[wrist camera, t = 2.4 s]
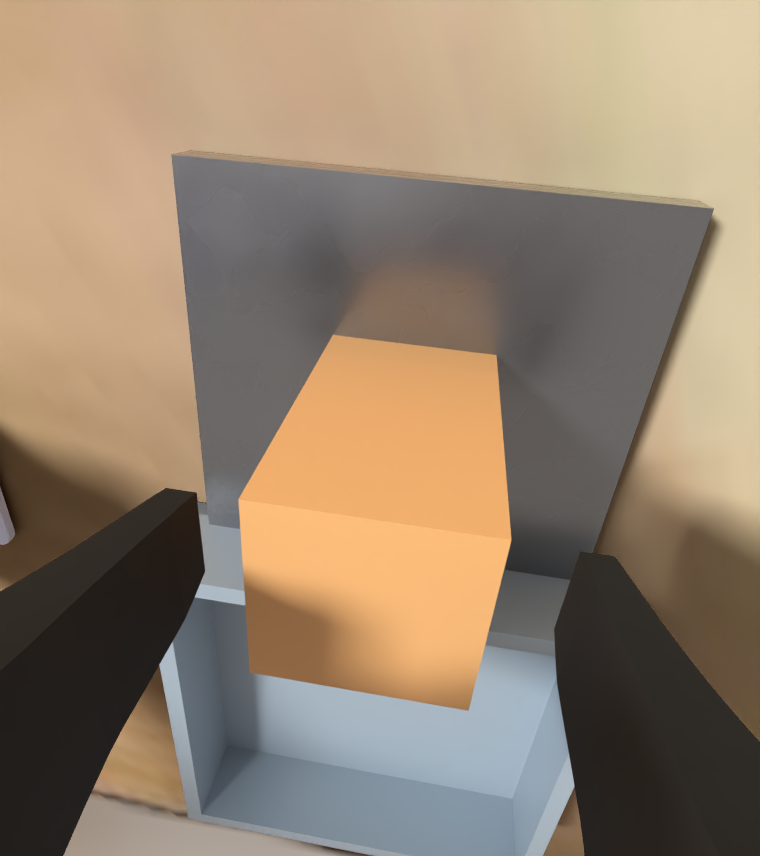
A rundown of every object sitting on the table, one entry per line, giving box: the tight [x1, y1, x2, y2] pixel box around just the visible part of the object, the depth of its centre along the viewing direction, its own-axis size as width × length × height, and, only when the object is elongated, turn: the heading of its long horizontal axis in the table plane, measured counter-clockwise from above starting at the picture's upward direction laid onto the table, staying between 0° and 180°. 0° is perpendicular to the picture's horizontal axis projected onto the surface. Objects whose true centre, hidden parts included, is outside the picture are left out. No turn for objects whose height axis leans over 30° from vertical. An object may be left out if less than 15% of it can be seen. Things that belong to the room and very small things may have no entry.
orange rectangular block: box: [238, 335, 511, 711], centre depth 13 cm, size 4×4×7 cm
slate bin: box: [159, 502, 574, 856], centre depth 21 cm, size 14×14×4 cm
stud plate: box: [172, 151, 714, 580], centre depth 14 cm, size 12×12×6 cm
